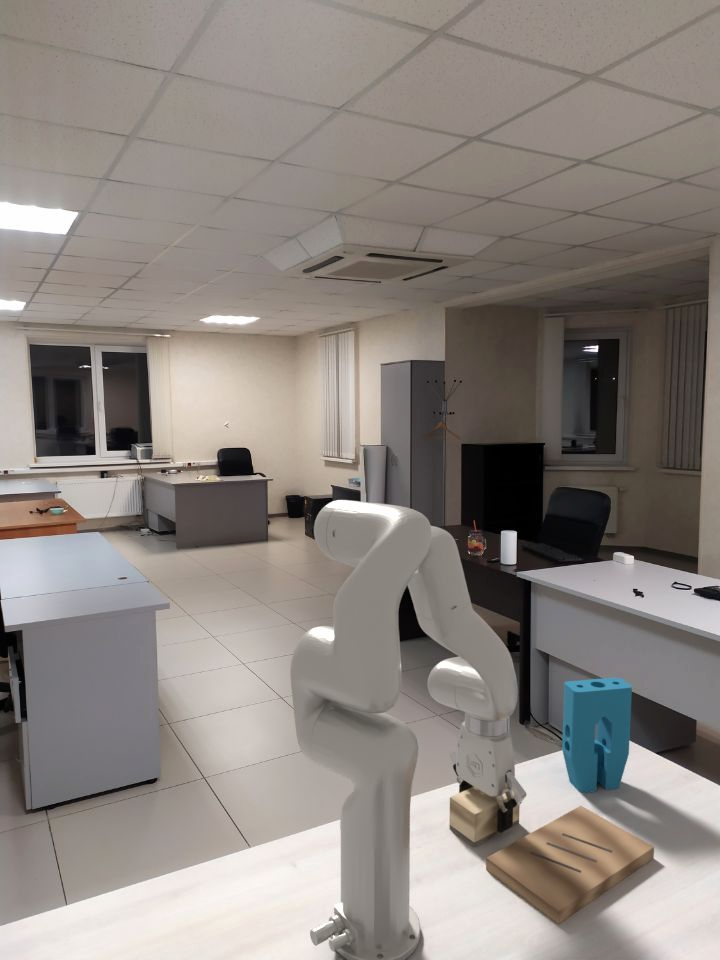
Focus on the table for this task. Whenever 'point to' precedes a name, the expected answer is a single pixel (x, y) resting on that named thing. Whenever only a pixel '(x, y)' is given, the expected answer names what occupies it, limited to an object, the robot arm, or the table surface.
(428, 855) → the table surface
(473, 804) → the block
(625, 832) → the oak board
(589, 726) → the block
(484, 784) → the robot arm
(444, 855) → the table surface
